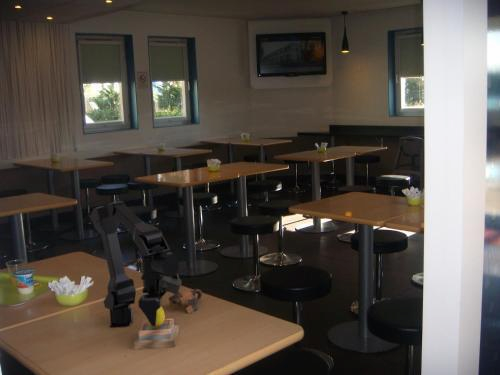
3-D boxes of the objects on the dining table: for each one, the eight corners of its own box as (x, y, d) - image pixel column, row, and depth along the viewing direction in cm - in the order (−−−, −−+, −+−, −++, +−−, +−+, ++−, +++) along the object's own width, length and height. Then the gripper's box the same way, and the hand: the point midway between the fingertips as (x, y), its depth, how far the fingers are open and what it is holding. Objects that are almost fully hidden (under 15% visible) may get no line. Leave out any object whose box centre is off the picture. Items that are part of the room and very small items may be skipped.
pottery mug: (182, 318, 192) (170, 296, 193) (174, 322, 200) (162, 301, 201) (211, 300, 199) (199, 280, 199) (201, 305, 206) (190, 285, 207)
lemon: (161, 332, 170) (159, 307, 169) (144, 332, 172) (142, 306, 170) (168, 325, 176) (166, 300, 175) (151, 324, 177) (149, 300, 176)
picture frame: (134, 349, 168) (133, 334, 167) (141, 333, 180) (139, 318, 179) (175, 346, 168) (173, 331, 168) (179, 330, 180) (178, 316, 179)
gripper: (175, 278, 162) (179, 330, 164) (181, 260, 180) (185, 307, 183) (136, 280, 162) (140, 333, 164) (146, 262, 180) (150, 309, 182)
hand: (155, 320), depth 173 cm, fingers open, 9 cm apart
